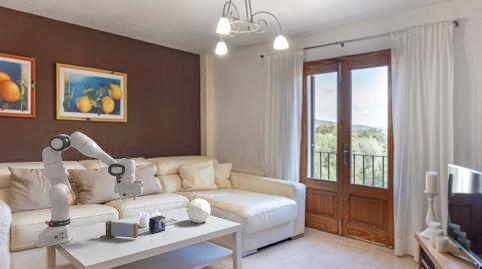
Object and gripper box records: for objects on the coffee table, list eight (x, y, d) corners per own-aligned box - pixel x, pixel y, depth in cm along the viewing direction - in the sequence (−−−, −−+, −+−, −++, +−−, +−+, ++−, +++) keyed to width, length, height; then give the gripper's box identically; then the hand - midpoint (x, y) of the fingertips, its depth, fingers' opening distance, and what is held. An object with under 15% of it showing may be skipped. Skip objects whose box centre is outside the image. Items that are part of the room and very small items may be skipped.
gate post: (107, 239, 227) (107, 223, 227) (100, 237, 231) (100, 221, 231) (117, 236, 234) (117, 221, 233) (110, 234, 238) (110, 219, 238)
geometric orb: (203, 231, 267) (207, 215, 256) (180, 221, 270) (184, 205, 258) (212, 215, 282) (216, 199, 271) (191, 205, 285) (194, 189, 273)
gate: (110, 235, 231) (110, 222, 230) (113, 234, 233) (113, 221, 233) (136, 238, 226) (136, 224, 226) (137, 237, 228) (137, 223, 228)
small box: (154, 234, 239) (154, 219, 239) (148, 232, 243) (148, 218, 243) (165, 230, 248) (165, 216, 248) (160, 228, 252) (160, 215, 252)
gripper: (144, 180, 237) (144, 199, 237) (117, 179, 239) (117, 198, 240) (141, 181, 231) (140, 201, 231) (113, 180, 233) (112, 200, 233)
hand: (128, 199), depth 235 cm, fingers open, 8 cm apart
